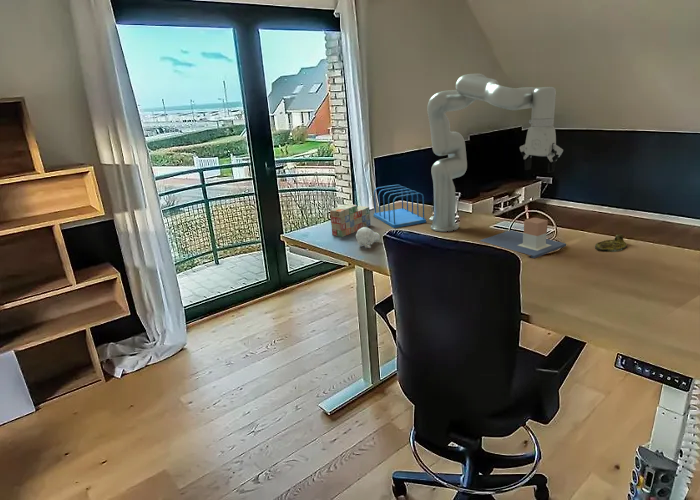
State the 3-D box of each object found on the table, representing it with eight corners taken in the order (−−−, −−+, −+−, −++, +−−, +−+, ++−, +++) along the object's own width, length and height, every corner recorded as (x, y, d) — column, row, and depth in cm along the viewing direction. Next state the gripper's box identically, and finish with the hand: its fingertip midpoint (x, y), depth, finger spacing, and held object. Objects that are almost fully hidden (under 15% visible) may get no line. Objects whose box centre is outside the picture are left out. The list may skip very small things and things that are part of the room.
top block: (523, 232, 183) (524, 220, 182) (533, 229, 187) (534, 217, 185) (537, 236, 179) (537, 223, 177) (546, 232, 182) (547, 220, 180)
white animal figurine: (354, 227, 197) (372, 223, 205) (354, 247, 199) (372, 242, 207) (365, 229, 192) (384, 225, 201) (365, 250, 195) (383, 244, 203)
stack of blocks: (360, 223, 234) (359, 199, 230) (370, 225, 230) (369, 200, 226) (331, 235, 218) (329, 209, 214) (342, 237, 215) (340, 211, 210)
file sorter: (373, 216, 245) (371, 187, 240) (403, 211, 250) (402, 183, 245) (393, 228, 222) (392, 196, 217) (426, 223, 227) (426, 191, 222)
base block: (522, 245, 185) (523, 232, 183) (532, 241, 188) (533, 229, 186) (535, 248, 180) (536, 236, 179) (545, 245, 183) (546, 232, 182)
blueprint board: (479, 242, 195) (479, 240, 194) (510, 232, 205) (510, 229, 204) (533, 258, 174) (533, 255, 173) (565, 246, 184) (566, 243, 184)
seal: (611, 257, 173) (632, 248, 181) (614, 246, 171) (635, 236, 179) (587, 249, 180) (609, 240, 188) (589, 237, 178) (611, 229, 186)
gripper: (515, 123, 174) (513, 170, 180) (557, 125, 160) (553, 175, 166) (528, 121, 178) (525, 167, 184) (570, 123, 164) (566, 172, 170)
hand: (539, 170), depth 175 cm, fingers open, 9 cm apart
